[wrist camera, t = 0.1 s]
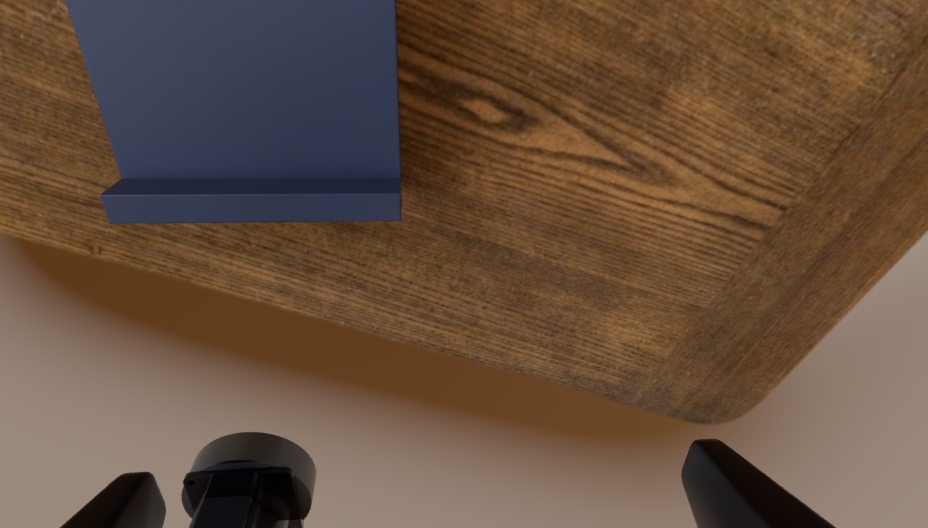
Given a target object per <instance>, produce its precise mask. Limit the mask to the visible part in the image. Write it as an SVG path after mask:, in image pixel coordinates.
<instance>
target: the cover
mask: <svg viewBox="0 0 928 528" xmlns="http://www.w3.org/2000/svg"><path fill="white" fill-rule="evenodd" d="M65 1H66V4H67V7H68V10H69V14H70V17H71V20H72V23H73V26H74V29H75V33H76V36H77V39H78V42H79V45H80V48H81V52H82V55H83V58H84V61H85V64H86V67H87V71H88V74H89V77H90V80H91V83H92V86H93V90H94V93H95V96H96V99H97V102H98V105H99V109H100V112H101V115H102V118H103V121H104V124H105V128H106V131H107V134H108V137H109V140H110V143H111V147H112V150H113V153H114V156H115V159H116V162H117V166H118V169H119V172H120V175H121V178H122V179H121V180H120V181H118V182H117V183H115V184H114V185H113V186H111V187H110V188H109V189H107V190H106V191H105V192H103V193H102V194H101V195H100V197H101V200H102V203H103V206H104V209H105V212H106V215H107V218H108V220H109V223H110V224H128V223H224V222H320V221H400V220H401V207H402V201H401V165H400V130H399V94H398V59H397V23H396V0H65Z"/></svg>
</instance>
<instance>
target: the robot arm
mask: <svg viewBox="0 0 928 528" xmlns="http://www.w3.org/2000/svg"><path fill="white" fill-rule="evenodd" d="M682 483H683V486H684V489H685V492H686V495H687V498H688V501H689V504H690V507H691V509H692V512H693V515H694V518H695V521H696V524H697V527H698V528H836V527H834V526H833V525H832V524H830V523H829V522H828V521H827V520H825V519H824V518H823V517H821V516H820V515H818V514H817V513H816V512H815V511H813V510H812V509H811V508H809V507H808V506H807V505H805V504H804V503H803V502H801V501H800V500H798V499H797V498H796V497H794V496H793V495H792V494H791V493H789V492H788V491H787V490H785V489H784V488H783V487H781V486H780V485H778V484H777V483H776V482H775V481H773V480H772V479H771V478H769V477H768V476H767V475H766V474H764V473H763V472H761V471H760V470H759V469H758V468H756V467H755V466H754V465H752V464H751V463H750V462H748V461H747V460H745V459H744V458H743V457H742V456H740V455H739V454H738V453H736V452H735V451H734V450H732V449H731V448H730V447H728V446H727V445H726V444H724V443H723V442H721V441H720V440H717V439H700V440H695V441H694V442H693V443H692V444H691V447H690V449H689V452H688V455H687V457H686V460H685V463H684V465H683V468H682ZM183 485H184V487H185V490H186V493H187V496H188V498H189V501H190V504H191V506H192V509H193V512H194V516H193V518H192V521H191V524H190V526H189V528H303V527H304V523H303V517H302V512H301V507H300V502H299V497H298V492H297V487H296V482H295V477H294V472H293V470H292V469H291V468H290V467H286V466H282V467H265V468H248V469H231V470H214V471H197V472H189V473H187V474H186V475H185V477H184V480H183ZM165 514H166V507H165V502H164V500H163V497H162V495H161V492H160V490H159V487H158V485H157V482H156V480H155V478H154V476H153V474H151V473H150V472H137V473H136V472H135V473H125V474H122V475H120V476H119V477H117V478H116V479H115V480H114V481H112V482H111V483H110V484H109V485H108V486H107V487H106V488H105V489H103V490H102V491H101V492H100V493H99V494H98V495H97V496H95V497H94V498H93V499H92V500H91V501H90V502H89V503H87V504H86V505H85V506H84V507H83V508H82V509H81V510H79V511H78V512H77V513H76V514H75V515H74V516H73V517H72V518H70V519H69V520H68V521H67V522H66V523H65V524H64V525H62V526H61V527H60V528H162V527H163V523H164V519H165Z"/></svg>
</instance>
